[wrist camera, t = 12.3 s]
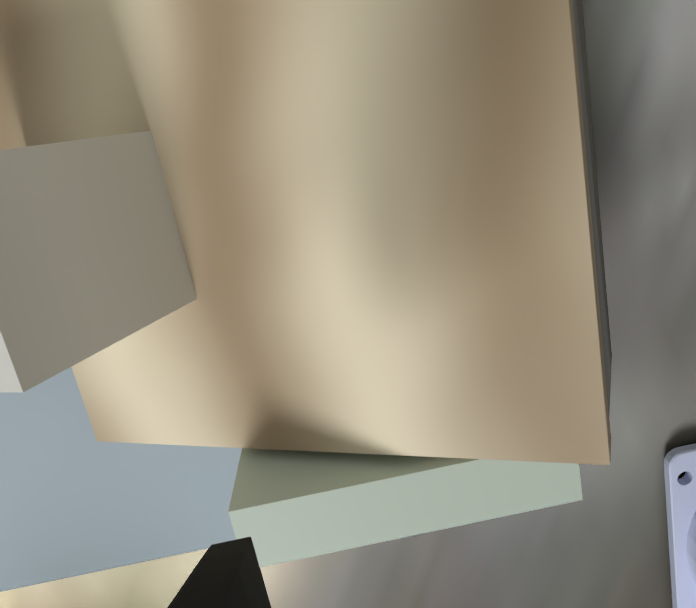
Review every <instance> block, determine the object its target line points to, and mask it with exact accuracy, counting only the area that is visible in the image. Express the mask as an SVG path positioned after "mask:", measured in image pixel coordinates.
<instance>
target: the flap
mask: <svg viewBox="0 0 696 608" xmlns="http://www.w3.org/2000/svg"><path fill="white" fill-rule="evenodd" d="M144 131H151V133H152V137H153V140H154V144H155V147H156V151H157V155H158V158H159V162H160V166H161V169H162V173H163V177H164V180H165V184H166V188H167V191H168V195H169V198H170V202H171V206H172V209H173V213H174V217H175V220H176V224H177V228H178V231H179V235H180V239H181V242H182V246H183V249H184V253H185V257H186V260H187V264H188V268H189V271H190V275H191V279H192V282H193V286H194V290H195V293H196V297H197V299H196V300H194V301H192V302H190V303H189V304H187V305H185V306H183V307H181V308H179V309H177V310H176V311H174V312H172V313H170V314H168V315H166V316H164V317H163V318H161V319H159V320H157V321H155V322H153V323H151V324H150V325H148V326H146V327H144V328H142V329H140V330H138V331H137V332H135V333H133V334H131V335H129V336H127V337H125V338H124V339H122V340H120V341H118V342H116V343H114V344H112V345H111V346H109V347H107V348H105V349H103V350H101V351H99V352H98V353H96V354H94V355H92V356H90V357H88V358H86V359H85V360H83V361H81V362H79V363H77V364H75V365H73V366H72V367H71V368H72V371H73V373H74V376H75V379H76V382H77V385H78V388H79V391H80V394H81V396H82V399H83V402H84V405H85V408H86V411H87V414H88V417H89V420H90V422H91V425H92V428H93V431H94V434H95V437H96V440H97V441H99V442H121V443H142V444H164V445H186V446H207V447H229V448H250V449H272V450H294V451H315V452H337V453H359V454H380V455H402V456H424V457H445V458H467V459H489V460H510V461H532V462H554V463H575V464H597V465H610V454H611V433H610V422H609V409H610V384H611V359H612V353H611V341H610V329H609V318H608V306H607V294H606V282H605V270H604V258H603V246H602V234H601V222H600V211H599V199H598V187H597V175H596V163H595V151H594V139H593V127H592V115H591V104H590V92H589V80H588V68H587V56H586V44H585V32H584V20H583V8H582V0H0V150H4V149H12V148H20V147H28V146H35V145H43V144H51V143H59V142H66V141H74V140H82V139H90V138H97V137H105V136H113V135H120V134H128V133H136V132H144Z"/></svg>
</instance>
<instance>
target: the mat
mask: <svg viewBox="0 0 696 608" xmlns="http://www.w3.org/2000/svg"><path fill="white" fill-rule="evenodd" d="M241 451H242V448H229V447H207V446H186V445H164V444H142V443H121V442H99V441H97V440H96V437H95V434H94V431H93V428H92V425H91V422H90V420H89V417H88V414H87V411H86V408H85V405H84V402H83V399H82V396H81V394H80V391H79V388H78V385H77V382H76V379H75V376H74V373H73V371H72V368H71V367H70V368H68V369H66V370H64V371H62V372H60V373H59V374H57V375H55V376H53V377H51V378H49V379H47V380H46V381H44V382H42V383H40V384H38V385H36V386H34V387H33V388H31V389H29V390H27V391H25V392H23V393H19V392H0V592H1V591H6V590H11V589H16V588H21V587H25V586H30V585H35V584H40V583H44V582H49V581H54V580H59V579H63V578H68V577H73V576H78V575H83V574H87V573H92V572H97V571H102V570H106V569H111V568H116V567H121V566H126V565H130V564H135V563H140V562H145V561H149V560H154V559H159V558H164V557H169V556H173V555H178V554H183V553H188V552H192V551H197V550H202V549H207V548H209V547H210V546H211V545H212V544H217V543H222V542H227V541H231V540H236V537H235V533H234V530H233V527H232V523H231V520H230V516H229V513H228V511H229V506H230V501H231V497H232V492H233V487H234V483H235V478H236V474H237V469H238V464H239V460H240V455H241Z"/></svg>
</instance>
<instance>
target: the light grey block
mask: <svg viewBox="0 0 696 608" xmlns="http://www.w3.org/2000/svg"><path fill="white" fill-rule="evenodd" d="M196 299H197V297H196V293H195V290H194V286H193V282H192V279H191V275H190V271H189V268H188V264H187V260H186V257H185V253H184V249H183V246H182V242H181V239H180V235H179V231H178V228H177V224H176V220H175V217H174V213H173V209H172V206H171V202H170V198H169V195H168V191H167V188H166V184H165V180H164V177H163V173H162V169H161V166H160V162H159V158H158V155H157V151H156V147H155V144H154V140H153V137H152V133H151V131H144V132H136V133H128V134H120V135H113V136H105V137H97V138H90V139H82V140H74V141H66V142H59V143H51V144H43V145H35V146H28V147H20V148H12V149H4V150H0V392H19V393H23V392H25V391H27V390H29V389H31V388H33V387H34V386H36V385H38V384H40V383H42V382H44V381H46V380H47V379H49V378H51V377H53V376H55V375H57V374H59V373H60V372H62V371H64V370H66V369H68V368H70V367H72V366H73V365H75V364H77V363H79V362H81V361H83V360H85V359H86V358H88V357H90V356H92V355H94V354H96V353H98V352H99V351H101V350H103V349H105V348H107V347H109V346H111V345H112V344H114V343H116V342H118V341H120V340H122V339H124V338H125V337H127V336H129V335H131V334H133V333H135V332H137V331H138V330H140V329H142V328H144V327H146V326H148V325H150V324H151V323H153V322H155V321H157V320H159V319H161V318H163V317H164V316H166V315H168V314H170V313H172V312H174V311H176V310H177V309H179V308H181V307H183V306H185V305H187V304H189V303H190V302H192V301H194V300H196Z"/></svg>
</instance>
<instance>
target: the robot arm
mask: <svg viewBox="0 0 696 608" xmlns="http://www.w3.org/2000/svg"><path fill="white" fill-rule="evenodd" d="M682 472H685V475H684V476H683V477H682V478H680V479H677V478H678V476H679V475H680V474H681V473H682ZM664 474H665V490H666V506H667V522H668V539H669V555H670V571H671V587H672V603H673V608H696V443H695V444H690V445H686V446H681V447H677V448H674V449H672V450H671V451H669V452H668V453H667V455H666V457H665V459H664ZM168 608H271V606H270V602H269V598H268V595H267V591H266V588H265V584H264V581H263V577H262V574H261V570H260V567H259V563H258V560H257V556H256V553H255V549H254V546H253V542H252V539H251V537H246V538H241V539H236V540H231V541H227V542H222V543H217V544H212V545H211V546H210V547H209V549H208V550H207V551H206V553H205V554H204V556H203V557H202V558H201V560H200V561H199V563H198V564H197V566H196V567H195V568H194V570H193V571H192V573H191V574H190V576H189V577H188V579H187V580H186V582H185V583H184V584H183V586H182V587H181V589H180V590H179V592H178V593H177V595H176V596H175V598H174V599H173V601H172V602H171V603H170V605H169V606H168Z"/></svg>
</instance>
